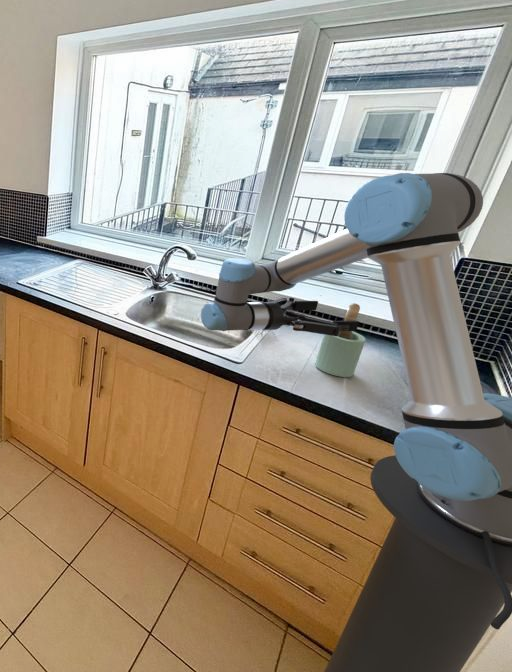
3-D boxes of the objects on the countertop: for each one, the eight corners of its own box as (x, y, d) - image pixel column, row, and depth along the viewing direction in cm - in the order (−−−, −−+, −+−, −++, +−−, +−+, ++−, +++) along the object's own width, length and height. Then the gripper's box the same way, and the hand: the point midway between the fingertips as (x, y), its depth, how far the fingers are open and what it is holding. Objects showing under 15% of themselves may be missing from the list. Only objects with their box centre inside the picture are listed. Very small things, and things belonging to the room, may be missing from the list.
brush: (341, 371, 119) (363, 306, 112) (327, 367, 121) (348, 303, 114) (341, 366, 121) (363, 303, 114) (327, 362, 123) (348, 300, 116)
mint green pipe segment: (353, 380, 115) (365, 345, 112) (313, 369, 121) (324, 335, 117) (353, 367, 122) (365, 333, 118) (316, 357, 127) (326, 324, 123)
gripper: (231, 310, 126) (298, 309, 128) (290, 350, 103) (371, 349, 104) (236, 287, 124) (305, 286, 125) (298, 323, 100) (381, 322, 102)
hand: (335, 315), depth 115 cm, fingers open, 13 cm apart
